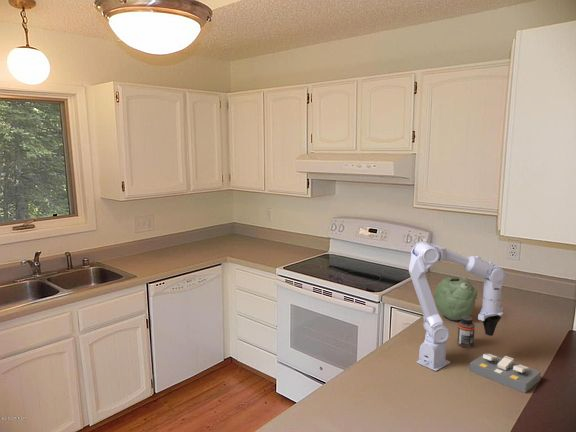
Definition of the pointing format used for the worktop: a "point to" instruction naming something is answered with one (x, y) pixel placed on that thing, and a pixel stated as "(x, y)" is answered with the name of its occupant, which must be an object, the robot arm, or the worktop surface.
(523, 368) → the rocker
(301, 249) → the worktop surface
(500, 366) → the rocker
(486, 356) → the rocker
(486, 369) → the switch box
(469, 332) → the supplement bottle
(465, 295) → the cabbage
